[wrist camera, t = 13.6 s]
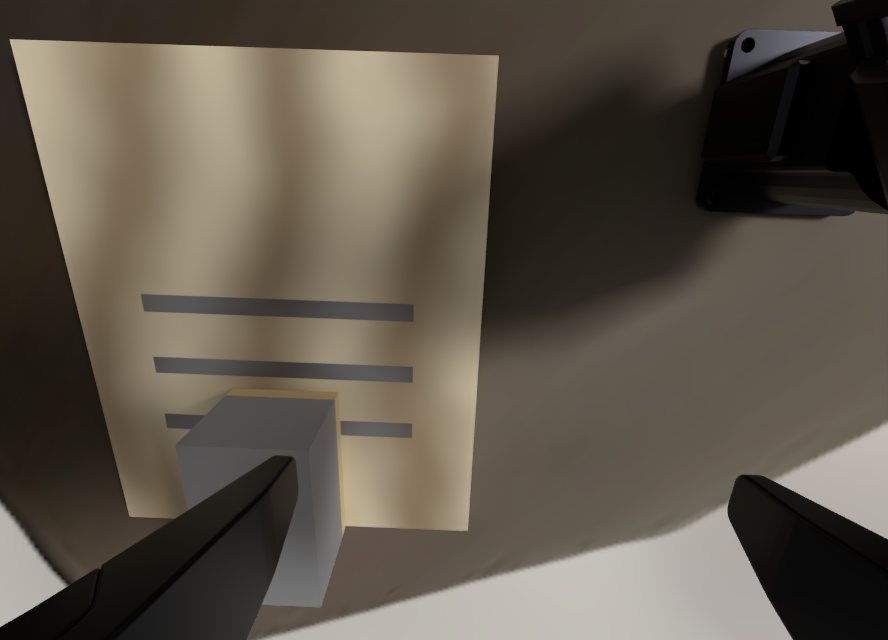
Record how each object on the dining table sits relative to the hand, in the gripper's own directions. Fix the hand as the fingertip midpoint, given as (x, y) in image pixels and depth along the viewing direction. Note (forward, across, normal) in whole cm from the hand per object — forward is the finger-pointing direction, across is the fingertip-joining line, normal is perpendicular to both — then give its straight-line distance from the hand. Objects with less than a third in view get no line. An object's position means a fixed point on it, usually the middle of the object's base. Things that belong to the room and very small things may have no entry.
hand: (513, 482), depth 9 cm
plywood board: (+12, +9, +1) cm, 15 cm away
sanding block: (+11, +9, +8) cm, 16 cm away
